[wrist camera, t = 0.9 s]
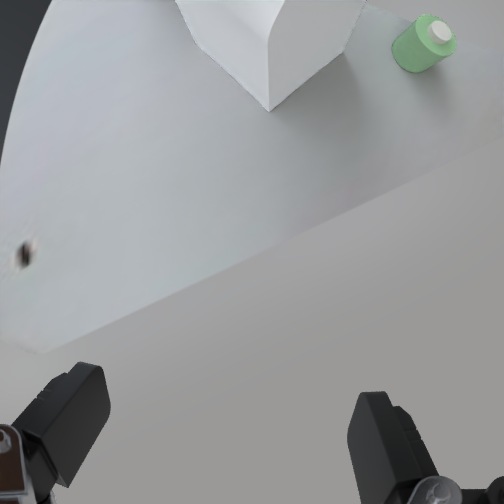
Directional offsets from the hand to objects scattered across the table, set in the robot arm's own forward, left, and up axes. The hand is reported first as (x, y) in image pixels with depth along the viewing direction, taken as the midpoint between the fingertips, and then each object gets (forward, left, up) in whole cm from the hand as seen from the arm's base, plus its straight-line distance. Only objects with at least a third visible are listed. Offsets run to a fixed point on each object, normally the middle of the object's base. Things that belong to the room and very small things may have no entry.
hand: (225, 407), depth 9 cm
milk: (-22, +1, -28) cm, 35 cm away
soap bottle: (-23, +18, -28) cm, 40 cm away
